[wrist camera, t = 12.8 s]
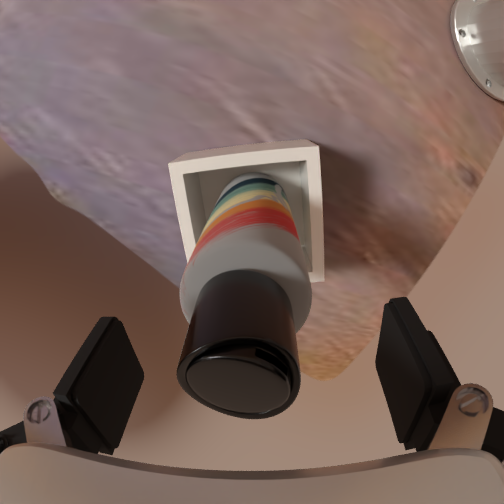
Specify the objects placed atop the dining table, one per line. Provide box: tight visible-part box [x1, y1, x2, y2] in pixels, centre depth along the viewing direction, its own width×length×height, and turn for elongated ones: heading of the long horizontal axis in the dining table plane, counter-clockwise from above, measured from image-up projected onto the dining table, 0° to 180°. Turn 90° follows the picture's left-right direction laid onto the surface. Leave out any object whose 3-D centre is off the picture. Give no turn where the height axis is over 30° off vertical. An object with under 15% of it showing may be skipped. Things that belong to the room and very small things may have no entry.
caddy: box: [168, 139, 324, 282], centre depth 25 cm, size 10×10×6 cm
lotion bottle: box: [177, 172, 312, 419], centre depth 18 cm, size 6×6×20 cm
